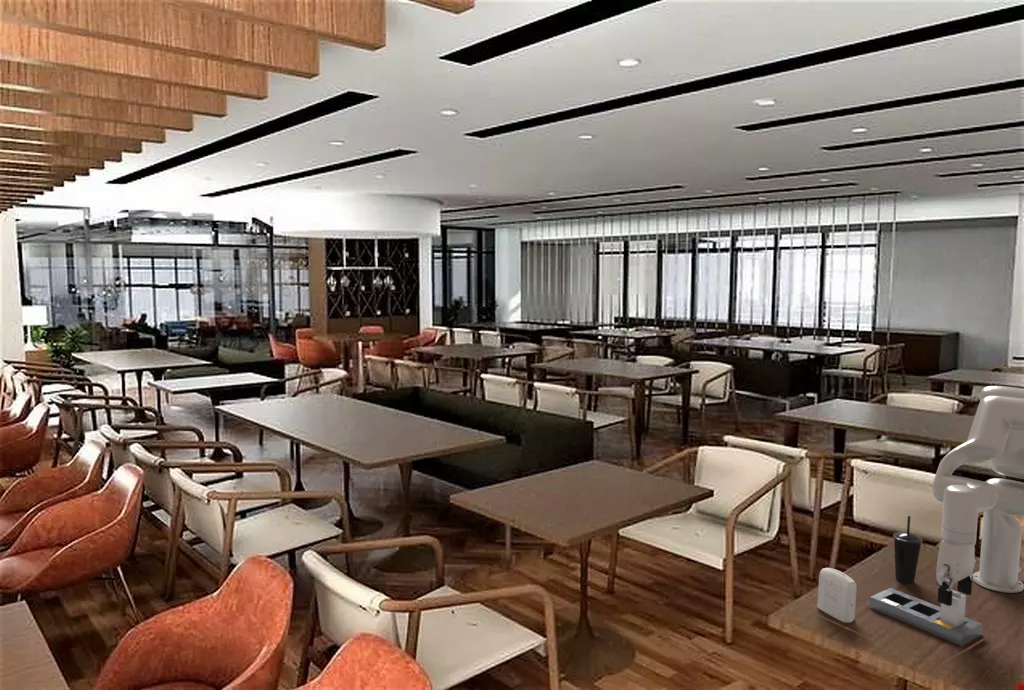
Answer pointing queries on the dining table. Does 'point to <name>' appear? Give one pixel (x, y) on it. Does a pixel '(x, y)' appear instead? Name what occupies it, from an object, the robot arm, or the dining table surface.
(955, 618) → the plug
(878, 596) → the socket panel
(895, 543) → the drinking cup
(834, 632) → the dining table surface
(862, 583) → the dining table surface
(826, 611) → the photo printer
